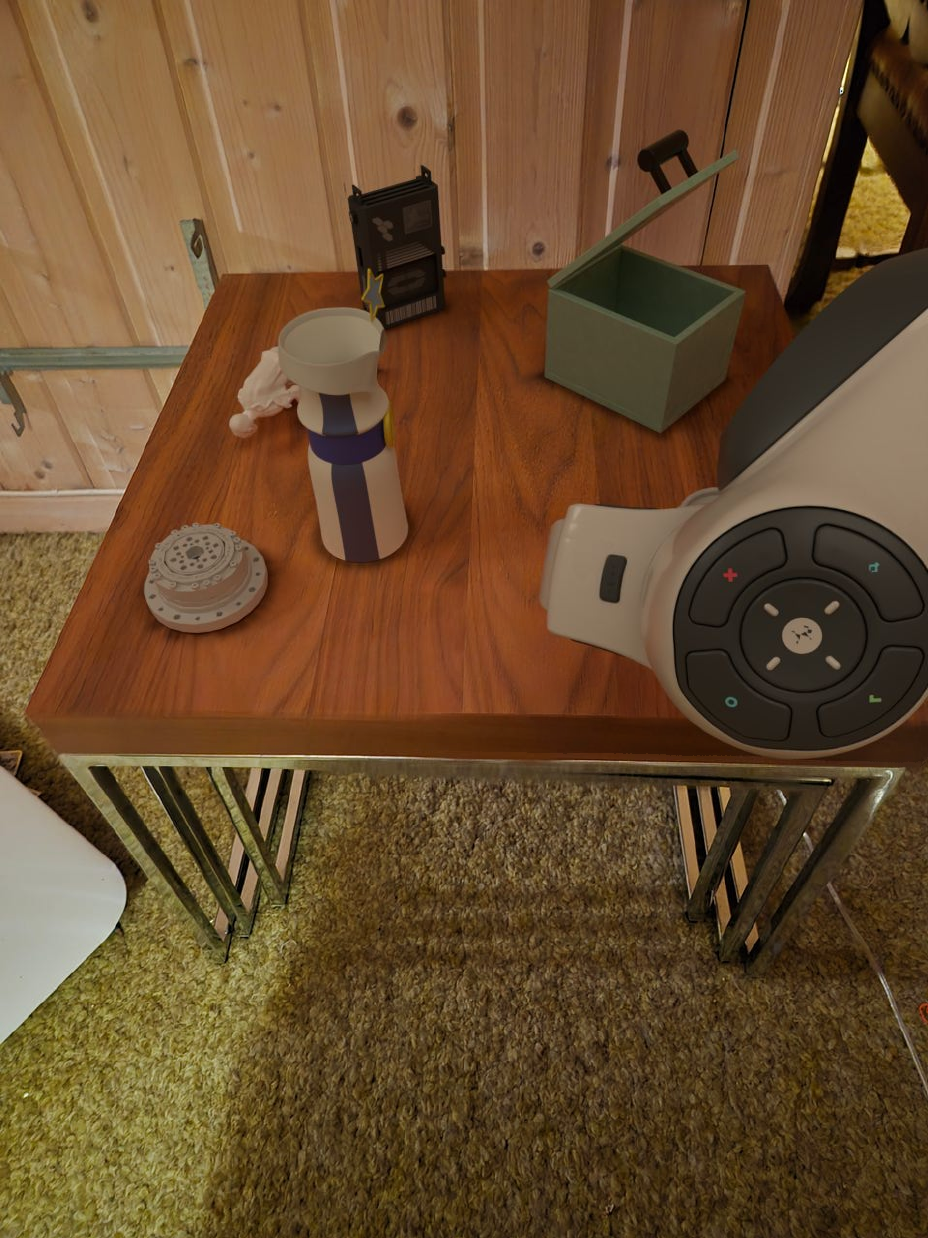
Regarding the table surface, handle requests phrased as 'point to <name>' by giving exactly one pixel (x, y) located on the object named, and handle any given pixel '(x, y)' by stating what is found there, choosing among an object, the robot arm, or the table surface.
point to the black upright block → (400, 247)
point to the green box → (641, 335)
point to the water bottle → (347, 426)
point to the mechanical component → (204, 579)
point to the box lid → (651, 162)
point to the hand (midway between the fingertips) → (718, 588)
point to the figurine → (263, 394)
